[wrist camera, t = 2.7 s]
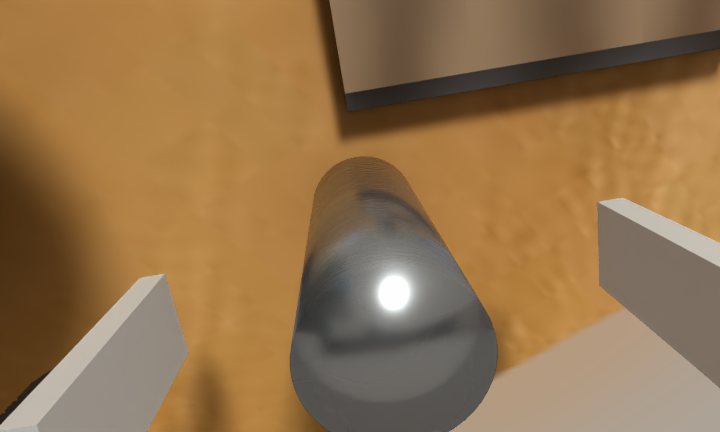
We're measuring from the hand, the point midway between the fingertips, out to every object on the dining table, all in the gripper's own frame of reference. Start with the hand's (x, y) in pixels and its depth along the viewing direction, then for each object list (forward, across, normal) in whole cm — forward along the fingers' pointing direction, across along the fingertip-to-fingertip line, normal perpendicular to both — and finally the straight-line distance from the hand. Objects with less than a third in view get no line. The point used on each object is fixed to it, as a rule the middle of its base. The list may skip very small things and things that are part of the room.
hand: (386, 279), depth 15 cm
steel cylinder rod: (+7, 0, 0) cm, 7 cm away
